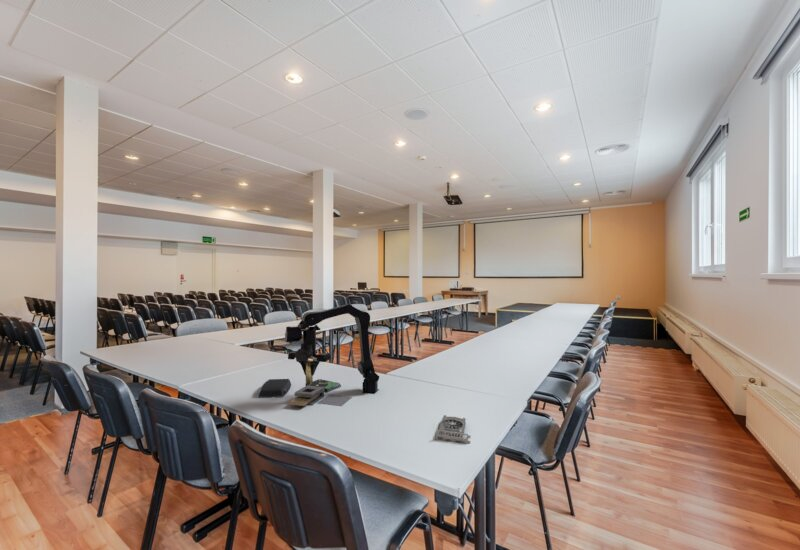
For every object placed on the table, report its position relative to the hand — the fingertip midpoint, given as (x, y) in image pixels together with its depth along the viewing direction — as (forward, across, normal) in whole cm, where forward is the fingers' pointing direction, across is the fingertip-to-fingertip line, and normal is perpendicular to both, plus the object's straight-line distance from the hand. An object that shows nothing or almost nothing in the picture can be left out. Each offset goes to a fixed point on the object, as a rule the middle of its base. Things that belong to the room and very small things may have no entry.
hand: (309, 375), depth 155 cm
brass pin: (+4, 0, 0) cm, 4 cm away
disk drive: (+12, -3, +19) cm, 23 cm away
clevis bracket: (+12, 0, -2) cm, 12 cm away
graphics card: (+13, +67, -12) cm, 69 cm away
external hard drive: (+12, -24, +8) cm, 28 cm away
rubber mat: (+12, +11, +4) cm, 17 cm away
